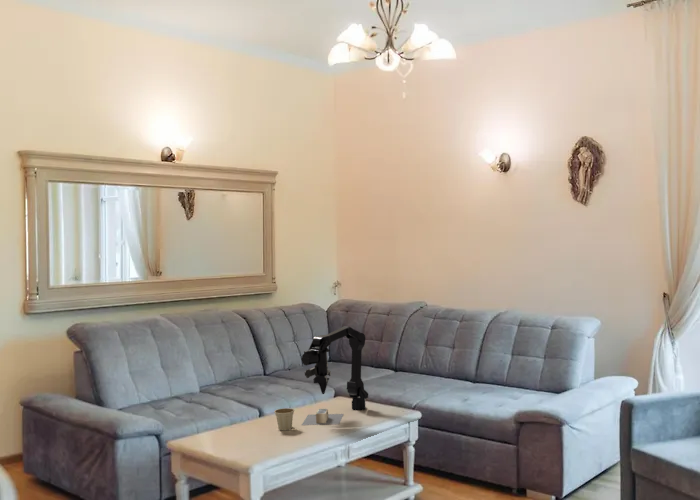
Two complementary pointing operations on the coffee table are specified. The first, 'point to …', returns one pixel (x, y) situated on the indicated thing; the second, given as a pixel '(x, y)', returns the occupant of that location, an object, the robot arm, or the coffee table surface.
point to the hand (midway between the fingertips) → (323, 393)
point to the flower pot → (284, 418)
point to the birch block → (322, 416)
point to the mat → (332, 420)
